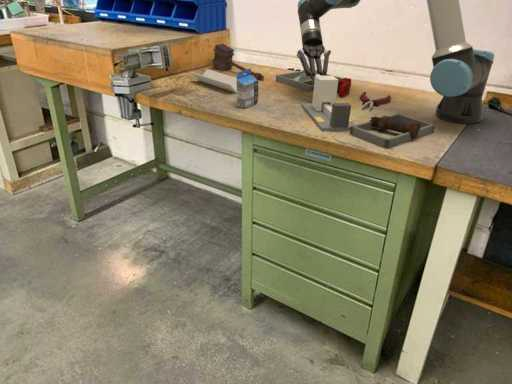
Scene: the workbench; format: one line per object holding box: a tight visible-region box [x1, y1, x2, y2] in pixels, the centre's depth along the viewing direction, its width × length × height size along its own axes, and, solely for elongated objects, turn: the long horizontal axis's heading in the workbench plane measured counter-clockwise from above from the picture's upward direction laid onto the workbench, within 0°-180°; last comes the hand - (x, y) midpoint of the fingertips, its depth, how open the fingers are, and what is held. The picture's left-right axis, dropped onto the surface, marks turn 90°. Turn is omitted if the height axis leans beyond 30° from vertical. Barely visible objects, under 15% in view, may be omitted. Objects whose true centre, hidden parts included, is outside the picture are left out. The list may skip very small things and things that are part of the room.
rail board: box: [301, 102, 357, 132], centre depth 141 cm, size 26×12×8 cm, turn 9°
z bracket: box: [190, 68, 237, 94], centre depth 174 cm, size 12×25×6 cm
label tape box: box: [236, 68, 259, 109], centre depth 149 cm, size 9×4×12 cm, turn 148°
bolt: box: [369, 115, 420, 141], centre depth 130 cm, size 6×5×15 cm
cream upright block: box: [311, 75, 338, 111], centre depth 145 cm, size 6×6×11 cm
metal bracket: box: [293, 69, 317, 83], centre depth 184 cm, size 14×6×15 cm
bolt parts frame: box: [349, 112, 436, 149], centre depth 130 cm, size 14×24×2 cm, turn 128°
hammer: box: [211, 43, 265, 81], centre depth 193 cm, size 7×33×10 cm, turn 43°
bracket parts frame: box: [275, 70, 343, 93], centre depth 183 cm, size 22×22×2 cm
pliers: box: [359, 91, 392, 111], centre depth 158 cm, size 12×20×3 cm, turn 155°
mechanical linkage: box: [337, 77, 352, 98], centre depth 170 cm, size 16×7×5 cm, turn 149°
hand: (319, 92), depth 150 cm, fingers closed
